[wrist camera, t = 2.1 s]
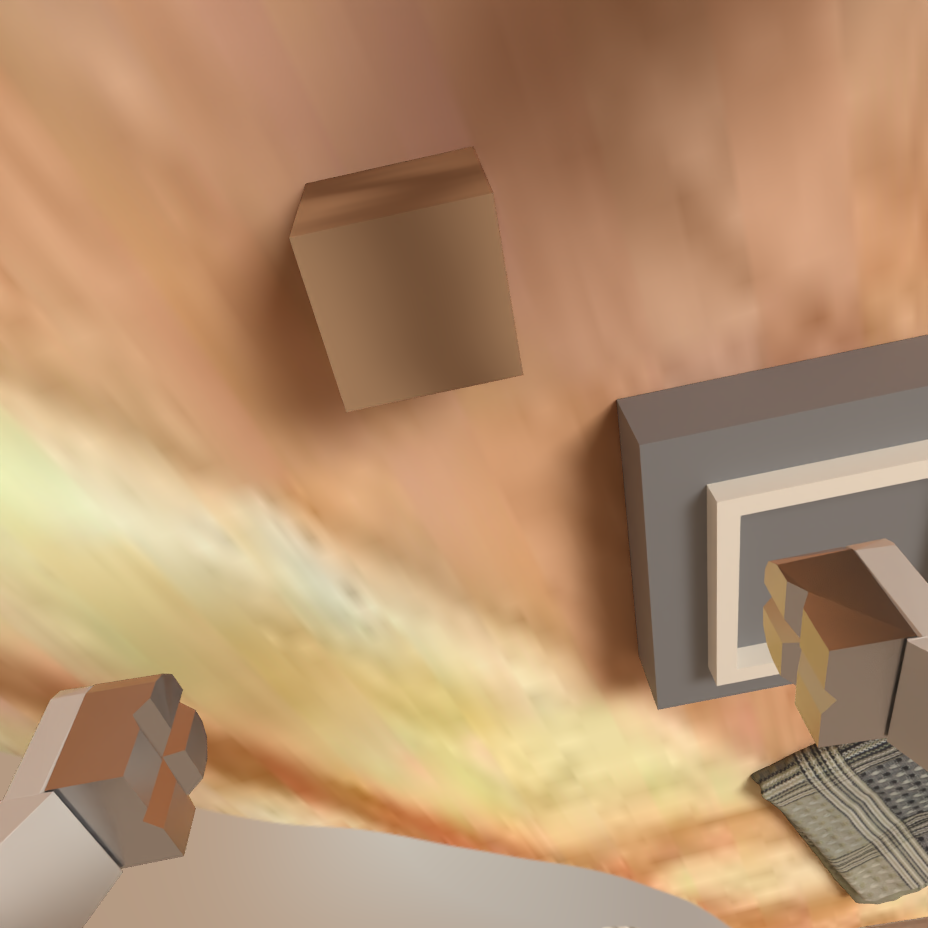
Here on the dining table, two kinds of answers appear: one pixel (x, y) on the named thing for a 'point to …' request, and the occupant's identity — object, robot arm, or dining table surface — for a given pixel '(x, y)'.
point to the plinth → (763, 500)
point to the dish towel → (857, 814)
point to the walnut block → (407, 279)
